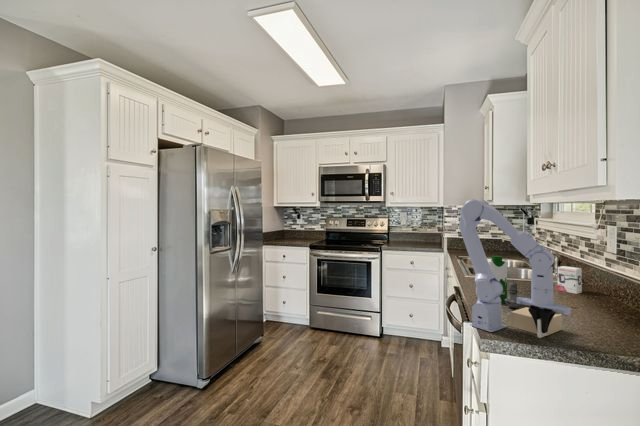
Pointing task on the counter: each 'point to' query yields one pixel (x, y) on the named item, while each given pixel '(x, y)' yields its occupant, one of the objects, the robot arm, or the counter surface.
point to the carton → (523, 320)
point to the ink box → (569, 279)
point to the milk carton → (500, 273)
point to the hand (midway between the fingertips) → (542, 331)
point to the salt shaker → (512, 297)
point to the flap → (550, 326)
